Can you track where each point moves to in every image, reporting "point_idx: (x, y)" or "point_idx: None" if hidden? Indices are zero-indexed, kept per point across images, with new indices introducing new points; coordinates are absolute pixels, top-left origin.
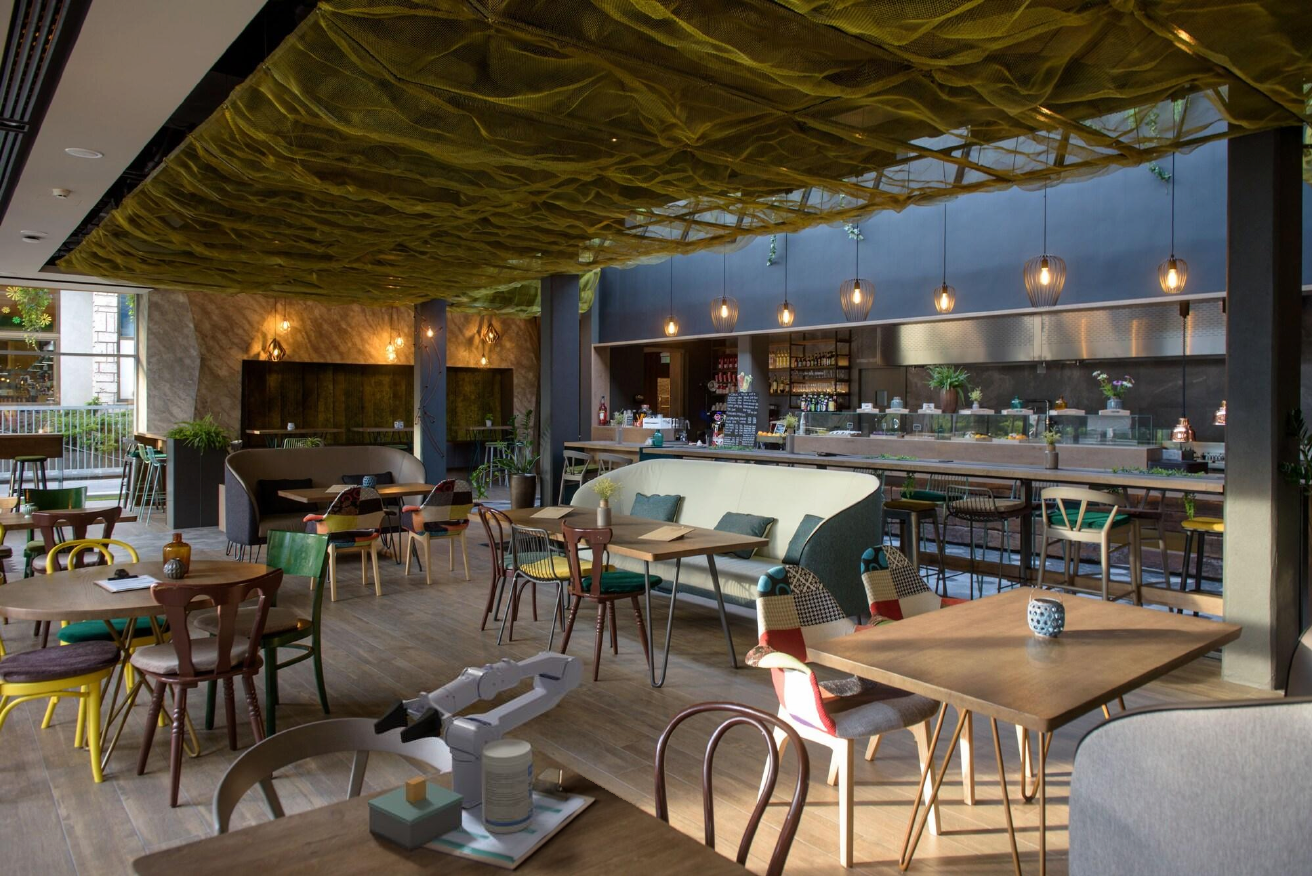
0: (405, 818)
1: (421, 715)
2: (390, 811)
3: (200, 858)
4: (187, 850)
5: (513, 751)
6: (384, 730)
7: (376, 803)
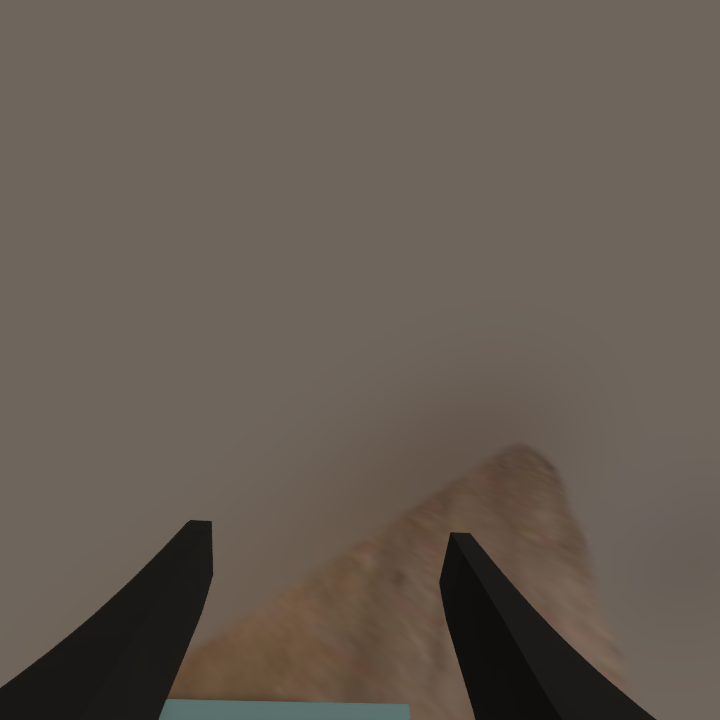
0: (185, 701)
1: (87, 705)
2: (275, 704)
3: (506, 470)
4: (544, 472)
5: None
6: (454, 632)
7: (370, 716)
